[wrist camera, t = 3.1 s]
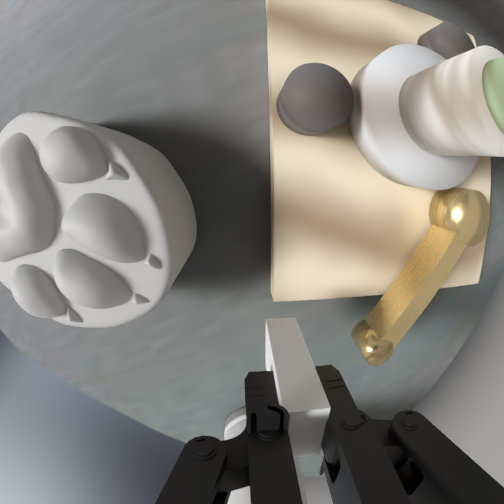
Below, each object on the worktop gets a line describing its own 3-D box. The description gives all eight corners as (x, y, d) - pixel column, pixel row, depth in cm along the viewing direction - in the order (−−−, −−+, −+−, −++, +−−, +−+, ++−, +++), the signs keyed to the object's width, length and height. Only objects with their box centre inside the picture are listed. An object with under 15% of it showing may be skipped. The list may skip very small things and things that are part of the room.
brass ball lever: (444, 175, 16) (472, 178, 13) (469, 206, 17) (496, 213, 14) (337, 331, 19) (351, 355, 16) (370, 350, 20) (386, 373, 17)
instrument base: (265, -6, 15) (286, -119, 3) (460, 41, 15) (548, 8, 4) (270, 289, 20) (303, 415, 9) (464, 275, 21) (556, 333, 10)
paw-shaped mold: (71, 112, 16) (-7, 92, 8) (226, 179, 18) (215, 183, 10) (32, 237, 19) (-41, 269, 10) (165, 311, 21) (129, 387, 12)
